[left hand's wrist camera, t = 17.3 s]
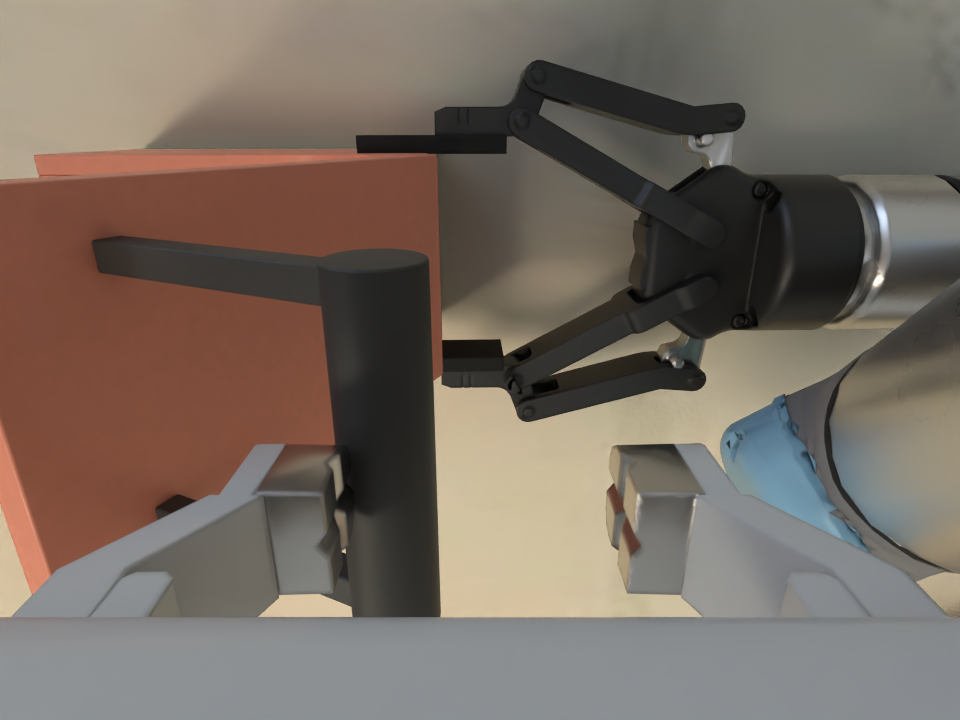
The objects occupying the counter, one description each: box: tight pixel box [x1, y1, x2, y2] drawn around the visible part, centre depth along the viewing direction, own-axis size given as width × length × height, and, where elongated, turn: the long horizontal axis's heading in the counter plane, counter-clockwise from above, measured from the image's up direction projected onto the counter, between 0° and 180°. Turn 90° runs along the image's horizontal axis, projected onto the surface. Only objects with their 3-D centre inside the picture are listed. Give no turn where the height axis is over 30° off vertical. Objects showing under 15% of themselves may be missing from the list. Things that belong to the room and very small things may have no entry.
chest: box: [34, 148, 435, 178], centre depth 30 cm, size 16×10×9 cm, turn 90°
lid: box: [0, 154, 443, 617], centre depth 17 cm, size 17×10×9 cm
